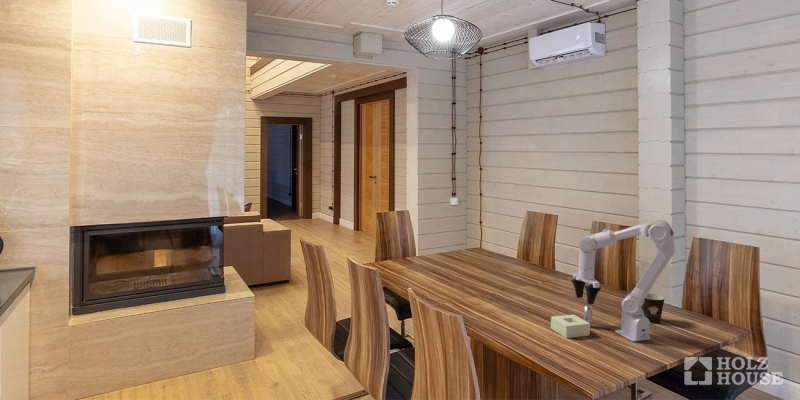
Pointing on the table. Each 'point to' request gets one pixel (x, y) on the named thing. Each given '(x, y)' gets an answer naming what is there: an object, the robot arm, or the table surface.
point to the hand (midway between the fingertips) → (584, 300)
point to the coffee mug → (653, 307)
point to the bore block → (570, 326)
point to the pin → (588, 314)
